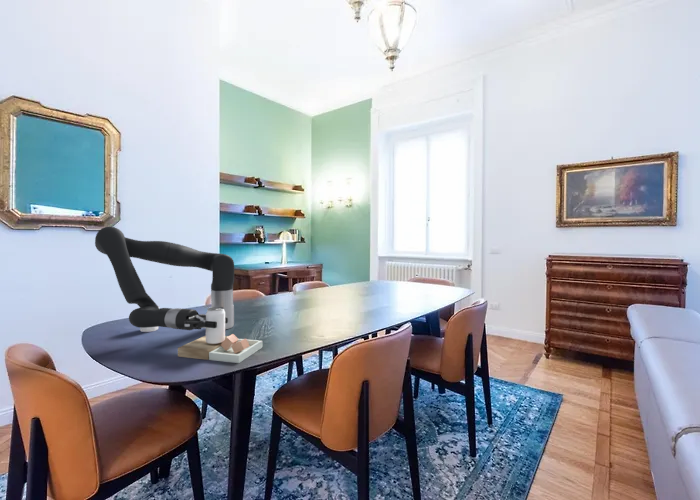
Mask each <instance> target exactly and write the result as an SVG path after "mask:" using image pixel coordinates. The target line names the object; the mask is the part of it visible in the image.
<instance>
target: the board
mask: <svg viewBox="0 0 700 500" xmlns="http://www.w3.org/2000/svg"><path fill="white" fill-rule="evenodd" d="M228 336H229V335H225V339H226V337H228ZM222 343H223V342H222ZM222 343H219V344H208V343H207V342H206V335H204V336H201V337H200V338H197V339H195V340H192V341H190V342H188V343H185V344H183V345H181V346H178V347H177V358H179V357H180V358H188V359H198V360H205V361H210V360H209V352H211V351H213V350H215V349H217V348H219V347H220V346H221V344H222Z"/></svg>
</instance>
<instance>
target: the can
mask: <svg viewBox="0 0 700 500" xmlns="http://www.w3.org/2000/svg"><path fill="white" fill-rule="evenodd" d="M206 310H207V311H206V313H205V315H206V321H215V322H217V327H216V328H207V327H206V328H205V336H206V342H207V343H208V344H219V343H222V342H223V341H224V340H225V336H226V329H225V311H224V308H223V307H211V306H210V307H208V308H206Z"/></svg>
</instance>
